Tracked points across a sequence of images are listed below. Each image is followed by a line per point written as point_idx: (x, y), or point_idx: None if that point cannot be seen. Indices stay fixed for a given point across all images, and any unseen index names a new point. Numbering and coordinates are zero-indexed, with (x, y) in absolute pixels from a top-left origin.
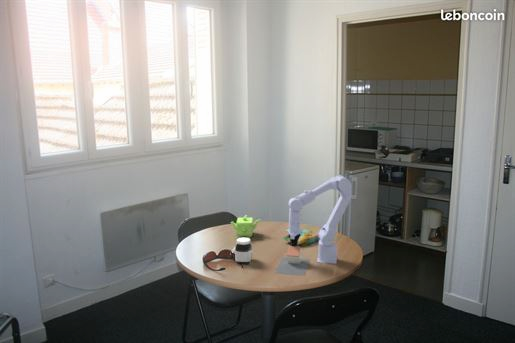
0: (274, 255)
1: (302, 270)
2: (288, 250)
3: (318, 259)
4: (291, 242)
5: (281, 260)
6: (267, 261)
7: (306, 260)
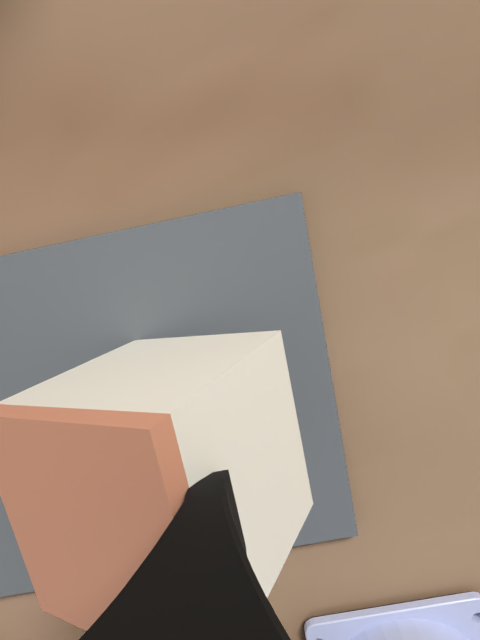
0: (363, 34)
1: (12, 558)
2: (50, 438)
3: (374, 628)
4: (128, 603)
5: (182, 228)
6: (98, 27)
7: (308, 516)
